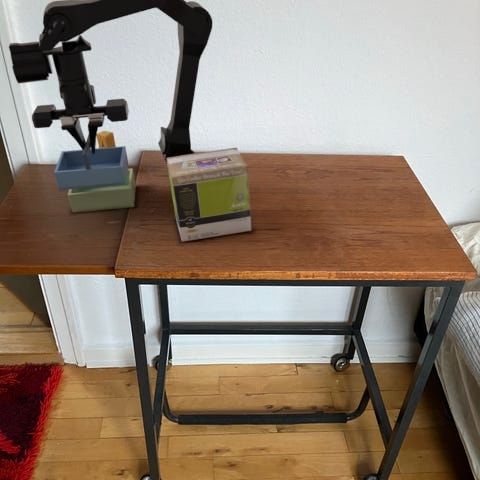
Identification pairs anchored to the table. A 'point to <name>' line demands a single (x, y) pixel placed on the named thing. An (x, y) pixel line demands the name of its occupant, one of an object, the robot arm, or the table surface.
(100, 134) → the supplement box
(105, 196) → the sage basket
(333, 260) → the table surface
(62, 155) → the blue basket
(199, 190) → the tea box
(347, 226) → the table surface
